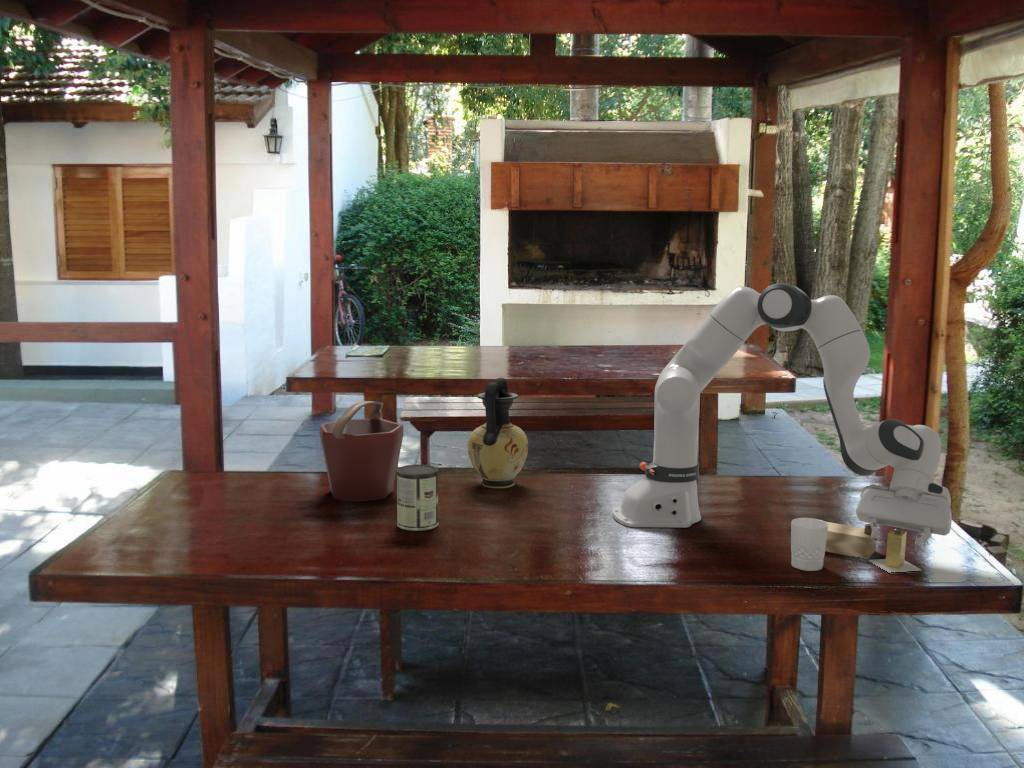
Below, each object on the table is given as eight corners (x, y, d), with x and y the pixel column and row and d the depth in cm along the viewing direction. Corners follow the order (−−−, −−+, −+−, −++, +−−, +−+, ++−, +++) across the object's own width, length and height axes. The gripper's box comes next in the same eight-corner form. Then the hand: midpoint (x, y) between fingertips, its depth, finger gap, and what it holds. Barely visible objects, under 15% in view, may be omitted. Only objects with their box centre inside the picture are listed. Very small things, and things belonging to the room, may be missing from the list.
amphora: (472, 475, 313) (473, 374, 308) (529, 477, 311) (531, 375, 306) (463, 491, 296) (464, 384, 291) (524, 494, 294) (526, 386, 289)
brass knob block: (885, 566, 238) (888, 530, 237) (890, 560, 242) (893, 525, 241) (899, 568, 237) (902, 532, 235) (904, 563, 240) (907, 527, 239)
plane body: (806, 547, 252) (808, 519, 250) (816, 540, 257) (817, 512, 256) (867, 559, 244) (869, 529, 243) (875, 551, 250) (877, 522, 249)
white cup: (783, 560, 242) (786, 517, 241) (817, 560, 243) (820, 517, 241) (795, 572, 235) (798, 528, 233) (830, 572, 235) (833, 528, 234)
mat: (888, 573, 235) (888, 571, 235) (869, 561, 242) (869, 559, 242) (921, 571, 236) (921, 569, 236) (901, 559, 244) (901, 558, 244)
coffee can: (409, 516, 272) (409, 462, 269) (445, 522, 267) (446, 467, 265) (388, 527, 262) (388, 471, 260) (425, 533, 258) (425, 476, 256)
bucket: (364, 477, 309) (364, 392, 305) (423, 490, 296) (423, 401, 292) (301, 495, 289) (300, 404, 285) (361, 510, 276) (360, 415, 272)
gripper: (861, 476, 248) (846, 527, 241) (955, 490, 237) (942, 544, 230) (865, 490, 252) (850, 541, 246) (958, 505, 241) (945, 558, 235)
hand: (896, 542), depth 238 cm, fingers open, 8 cm apart
